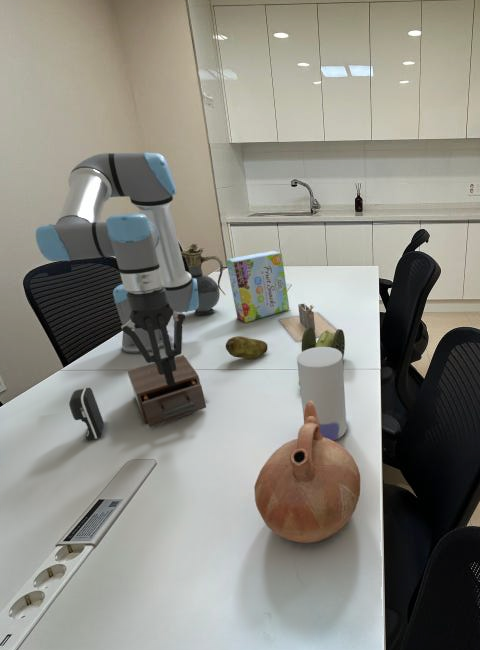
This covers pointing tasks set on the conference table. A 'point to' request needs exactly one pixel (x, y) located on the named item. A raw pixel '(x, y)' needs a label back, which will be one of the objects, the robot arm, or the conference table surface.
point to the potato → (246, 347)
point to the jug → (308, 485)
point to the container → (324, 388)
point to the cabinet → (158, 379)
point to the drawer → (173, 402)
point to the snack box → (258, 285)
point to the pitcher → (203, 280)
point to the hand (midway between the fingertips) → (171, 383)
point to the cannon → (323, 340)
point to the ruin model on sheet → (306, 323)
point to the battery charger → (87, 412)
